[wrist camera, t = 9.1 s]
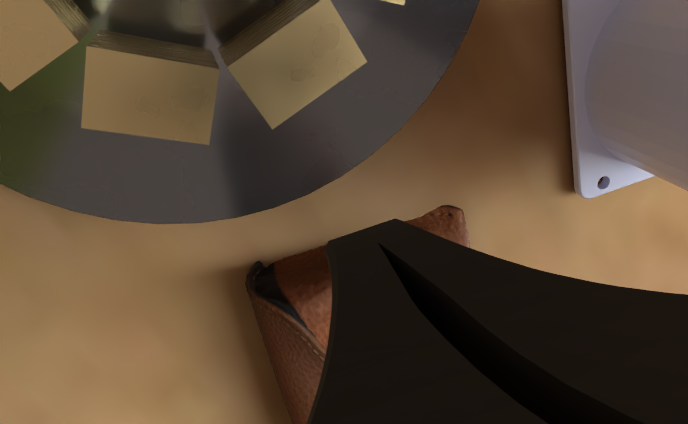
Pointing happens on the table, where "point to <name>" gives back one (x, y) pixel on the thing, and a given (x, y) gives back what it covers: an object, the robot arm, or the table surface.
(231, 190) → the grey round disc
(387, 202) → the table surface
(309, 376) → the sunglasses case
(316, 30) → the gear with bar handle
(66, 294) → the table surface
